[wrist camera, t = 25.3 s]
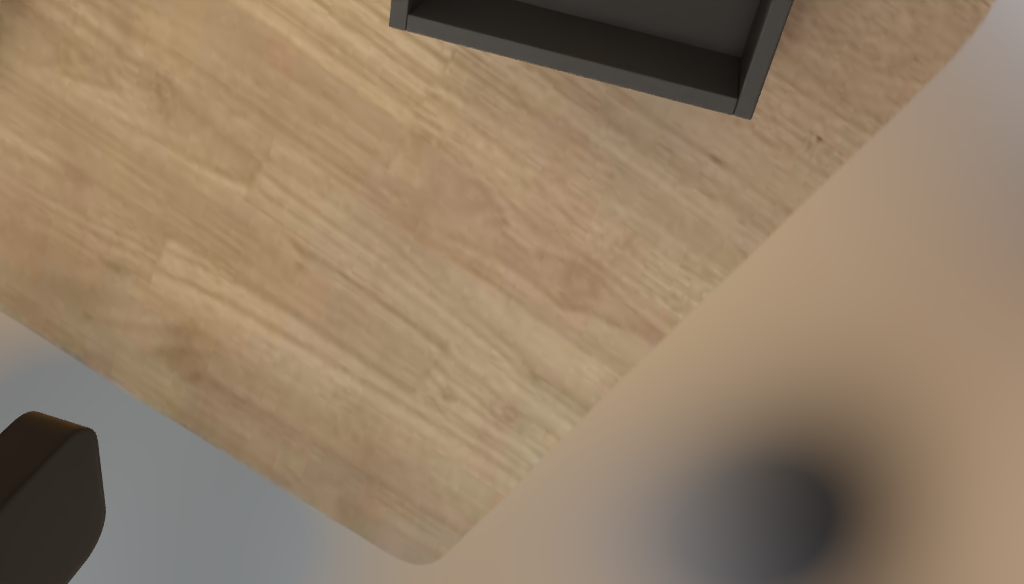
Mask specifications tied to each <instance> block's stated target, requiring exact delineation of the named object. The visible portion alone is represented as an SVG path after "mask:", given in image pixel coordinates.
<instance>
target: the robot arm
mask: <svg viewBox="0 0 1024 584" xmlns="http://www.w3.org/2000/svg"><path fill="white" fill-rule="evenodd" d="M105 515H106V507H105V499H104V490H103V481H102V473H101V464H100V456H99V447H98V440H97V436H96V433H95V432H94V431H93V430H92V429H90V428H88V427H85V426H81V425H78V424H75V423H72V422H69V421H65V420H62V419H59V418H56V417H53V416H49V415H46V414H43V413H40V412H35V411H32V412H27V413H25V414H23V415H21V416H20V417H18V418H17V419H16V420H15V421H14V422H13V423H11V424H10V425H9V426H8V427H7V428H6V429H5V430H4V431H3V432H2V433H1V434H0V584H68V582H69V581H70V580H71V579H72V578H73V576H74V575H75V574H76V573H77V571H78V570H79V569H80V568H81V566H82V565H83V564H84V562H85V561H86V560H87V559H88V557H89V556H90V554H91V553H92V551H93V549H94V548H95V546H96V544H97V542H98V540H99V537H100V535H101V532H102V529H103V526H104V521H105Z"/></svg>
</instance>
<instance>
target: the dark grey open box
mask: <svg viewBox="0 0 1024 584" xmlns="http://www.w3.org/2000/svg"><path fill="white" fill-rule="evenodd" d="M792 3H793V0H392V1H391V11H390V21H389V27H392V28H396V29H400V30H404V31H408V32H412V33H415V34H419V35H423V36H427V37H431V38H435V39H439V40H442V41H446V42H450V43H454V44H458V45H462V46H466V47H470V48H473V49H477V50H481V51H485V52H489V53H493V54H497V55H500V56H504V57H508V58H512V59H516V60H520V61H524V62H527V63H531V64H535V65H539V66H543V67H547V68H551V69H555V70H558V71H562V72H566V73H570V74H574V75H578V76H582V77H585V78H589V79H593V80H597V81H601V82H605V83H609V84H612V85H616V86H620V87H624V88H628V89H632V90H636V91H640V92H643V93H647V94H651V95H655V96H659V97H663V98H667V99H670V100H674V101H678V102H682V103H686V104H690V105H694V106H698V107H701V108H705V109H709V110H713V111H717V112H721V113H725V114H728V115H733V114H734V116H737V117H741V118H744V119H748V120H750V119H751V118H752V116H753V113H754V110H755V107H756V105H757V102H758V99H759V96H760V93H761V91H762V88H763V85H764V82H765V79H766V76H767V74H768V71H769V68H770V65H771V62H772V60H773V57H774V54H775V51H776V48H777V45H778V43H779V40H780V37H781V34H782V31H783V29H784V26H785V23H786V20H787V17H788V14H789V12H790V9H791V6H792Z"/></svg>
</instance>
